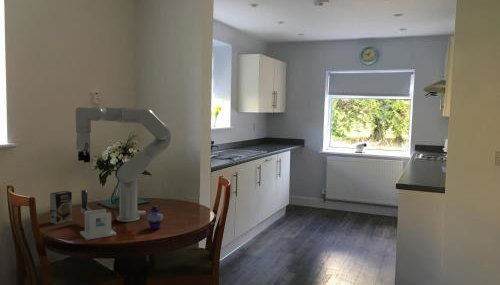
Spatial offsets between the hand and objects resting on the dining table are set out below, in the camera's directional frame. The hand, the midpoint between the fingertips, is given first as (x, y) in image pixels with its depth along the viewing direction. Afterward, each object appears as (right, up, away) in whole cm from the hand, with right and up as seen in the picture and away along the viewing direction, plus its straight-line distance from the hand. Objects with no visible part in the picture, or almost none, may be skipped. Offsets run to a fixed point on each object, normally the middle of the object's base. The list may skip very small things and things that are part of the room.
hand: (84, 161), depth 221 cm
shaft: (+7, -28, -10) cm, 31 cm away
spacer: (+15, -32, -21) cm, 41 cm away
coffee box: (-12, -33, -1) cm, 35 cm away
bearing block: (+16, -35, -22) cm, 44 cm away
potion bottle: (+41, -35, -11) cm, 55 cm away
